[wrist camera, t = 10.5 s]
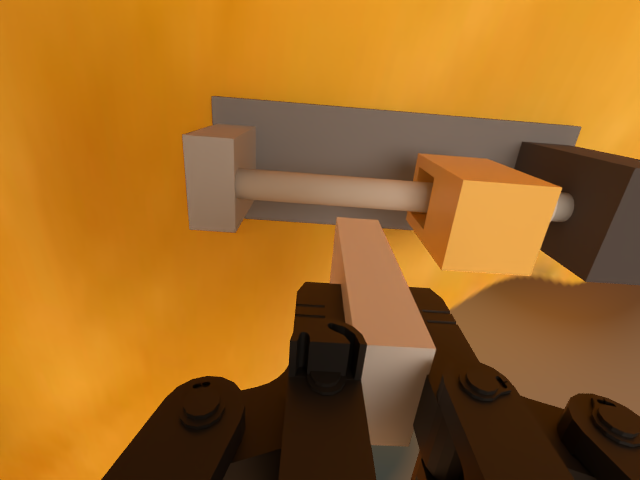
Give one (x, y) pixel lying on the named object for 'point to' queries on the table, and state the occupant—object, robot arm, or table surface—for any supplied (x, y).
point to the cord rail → (403, 174)
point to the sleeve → (482, 214)
